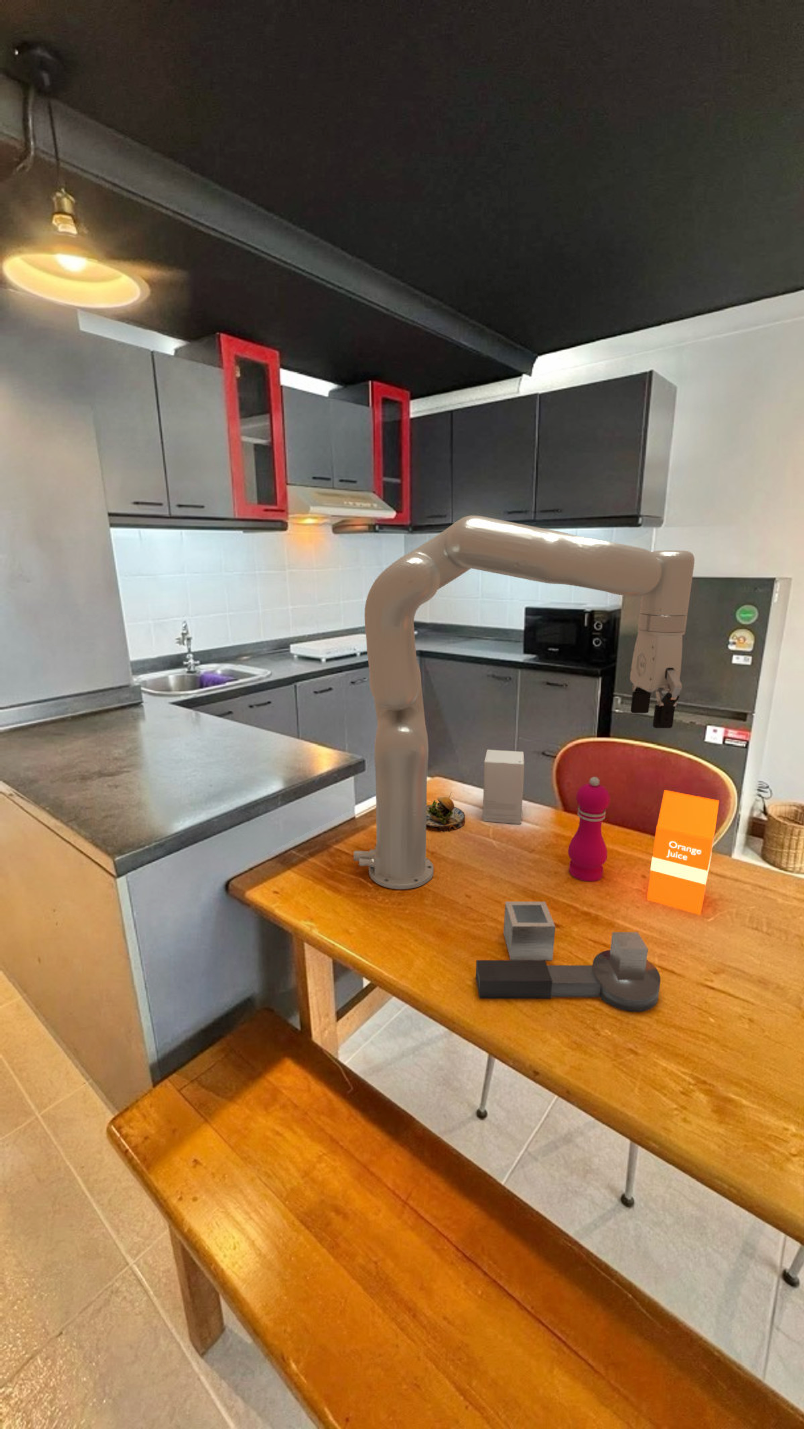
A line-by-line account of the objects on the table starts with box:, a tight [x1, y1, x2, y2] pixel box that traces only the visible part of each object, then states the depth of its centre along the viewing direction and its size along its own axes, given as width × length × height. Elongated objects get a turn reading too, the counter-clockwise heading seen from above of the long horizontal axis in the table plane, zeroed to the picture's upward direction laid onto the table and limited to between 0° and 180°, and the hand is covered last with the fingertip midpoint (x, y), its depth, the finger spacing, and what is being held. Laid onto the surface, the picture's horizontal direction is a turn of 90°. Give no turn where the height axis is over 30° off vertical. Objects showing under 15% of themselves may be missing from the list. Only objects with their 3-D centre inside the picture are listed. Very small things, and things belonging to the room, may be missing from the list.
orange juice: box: [646, 789, 720, 916], centre depth 102 cm, size 8×9×20 cm
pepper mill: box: [567, 776, 611, 882], centre depth 110 cm, size 7×7×20 cm
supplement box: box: [482, 749, 525, 825], centre depth 136 cm, size 9×9×15 cm
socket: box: [503, 901, 556, 961], centre depth 91 cm, size 6×6×6 cm
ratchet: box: [475, 931, 661, 1013], centre depth 82 cm, size 26×9×8 cm, turn 90°
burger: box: [426, 793, 466, 833], centre depth 134 cm, size 12×12×8 cm
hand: (650, 719), depth 104 cm, fingers open, 9 cm apart
